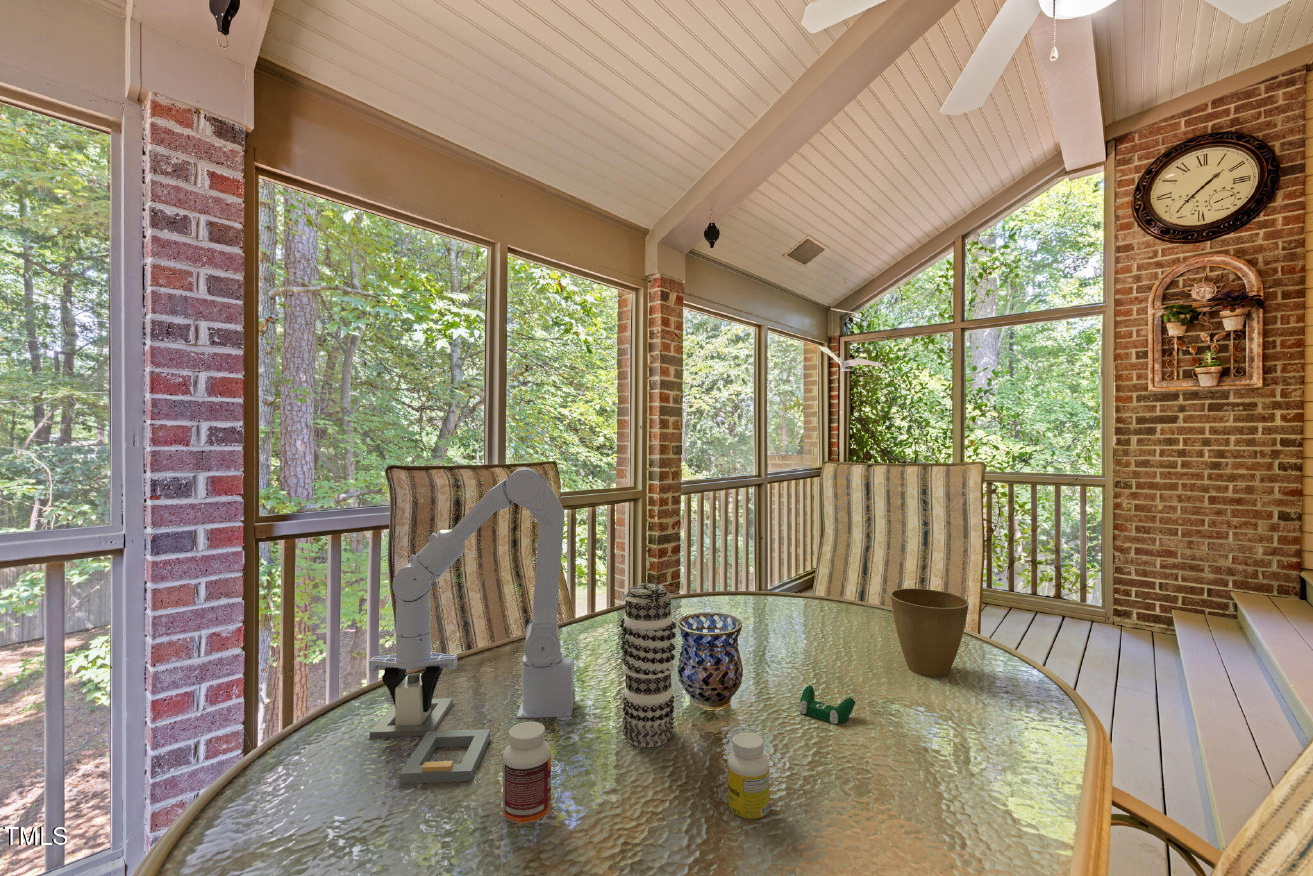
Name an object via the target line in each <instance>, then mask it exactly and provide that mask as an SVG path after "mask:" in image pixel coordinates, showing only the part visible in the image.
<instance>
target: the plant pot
mask: <svg viewBox="0 0 1313 876" xmlns="http://www.w3.org/2000/svg"><path fill="white" fill-rule="evenodd" d="M890 601H891V609H892V614H893V620H894V626H895V630H896V634H897V637H898V640H899V645H900V647H901V651H902V652H901V653H902V654H903V657H904V661H905V663H906V665H907V669H908V670H909V671H910V672H912V673H913V674H916V675H919V676H923V677H927V678H944V677H947V676H948V675H949V674H950V672H951V669H952V667H953V665H954V661H955V659H956V656H957V654H958V651H959V648H960V646H961V642H962V639H963V636H964V631H965V627H966V624H967V623H966V621H967V617H968V613H969V612H968V611H969V606H970V605H969V604H970V601H969V600H967V598H965V597H963V596H960V595H958V594H954V593H951V592H946V591H942V590H937V589H930V588H929V589H928V588H913V587H912V588H911V587H910V588H907V587H906V588H898V589H894V590H893V591H891V593H890Z"/></svg>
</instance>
